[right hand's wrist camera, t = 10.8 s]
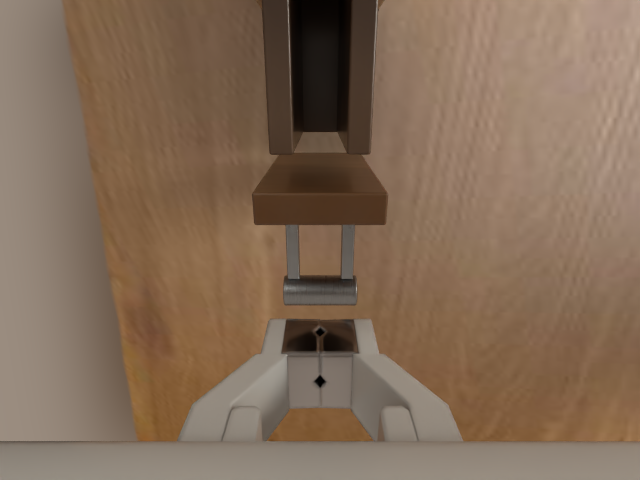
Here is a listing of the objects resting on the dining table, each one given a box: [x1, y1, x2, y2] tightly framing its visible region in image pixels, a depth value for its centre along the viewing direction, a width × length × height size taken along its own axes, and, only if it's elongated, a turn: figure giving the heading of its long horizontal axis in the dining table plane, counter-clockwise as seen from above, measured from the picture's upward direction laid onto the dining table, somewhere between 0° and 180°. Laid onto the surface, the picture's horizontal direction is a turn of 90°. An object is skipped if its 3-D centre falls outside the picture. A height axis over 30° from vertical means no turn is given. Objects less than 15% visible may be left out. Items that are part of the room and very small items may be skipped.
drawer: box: [252, 0, 388, 305], centre depth 15 cm, size 24×5×9 cm, turn 0°
